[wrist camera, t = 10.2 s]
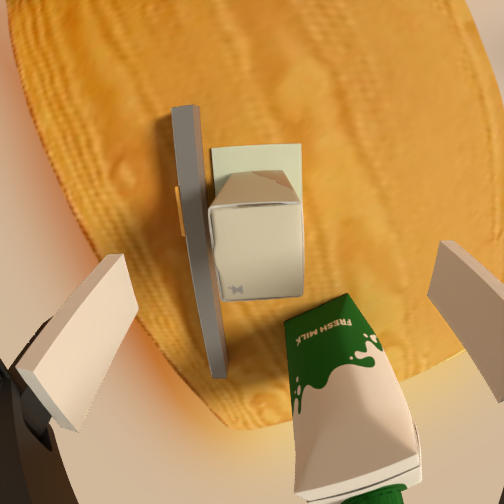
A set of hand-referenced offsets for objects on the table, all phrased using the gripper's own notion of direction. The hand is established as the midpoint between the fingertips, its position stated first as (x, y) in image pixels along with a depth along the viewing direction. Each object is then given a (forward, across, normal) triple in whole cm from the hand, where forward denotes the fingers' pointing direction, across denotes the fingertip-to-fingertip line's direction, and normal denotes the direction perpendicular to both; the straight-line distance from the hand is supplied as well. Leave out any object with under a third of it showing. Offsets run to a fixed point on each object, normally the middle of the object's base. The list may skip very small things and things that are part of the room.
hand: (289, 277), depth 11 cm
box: (+14, -1, -1) cm, 14 cm away
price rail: (+14, -6, -6) cm, 16 cm away
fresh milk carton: (+14, +5, -15) cm, 21 cm away
